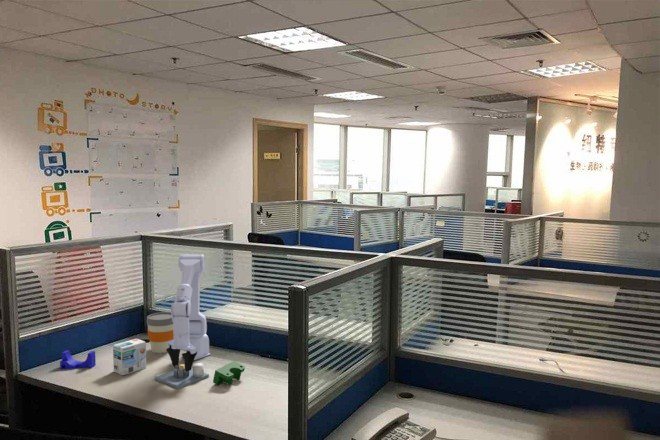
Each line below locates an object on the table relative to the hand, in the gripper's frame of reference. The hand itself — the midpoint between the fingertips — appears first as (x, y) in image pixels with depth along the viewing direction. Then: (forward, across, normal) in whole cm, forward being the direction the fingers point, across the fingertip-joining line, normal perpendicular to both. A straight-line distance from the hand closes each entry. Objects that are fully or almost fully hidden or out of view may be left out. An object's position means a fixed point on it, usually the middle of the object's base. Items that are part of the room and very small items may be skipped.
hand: (181, 368), depth 196 cm
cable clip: (+4, -42, -18) cm, 46 cm away
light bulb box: (+4, -23, -7) cm, 24 cm away
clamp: (+4, +16, +9) cm, 19 cm away
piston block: (+4, 0, 0) cm, 4 cm away
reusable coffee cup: (+4, -33, +15) cm, 36 cm away
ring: (+3, 0, 0) cm, 3 cm away
